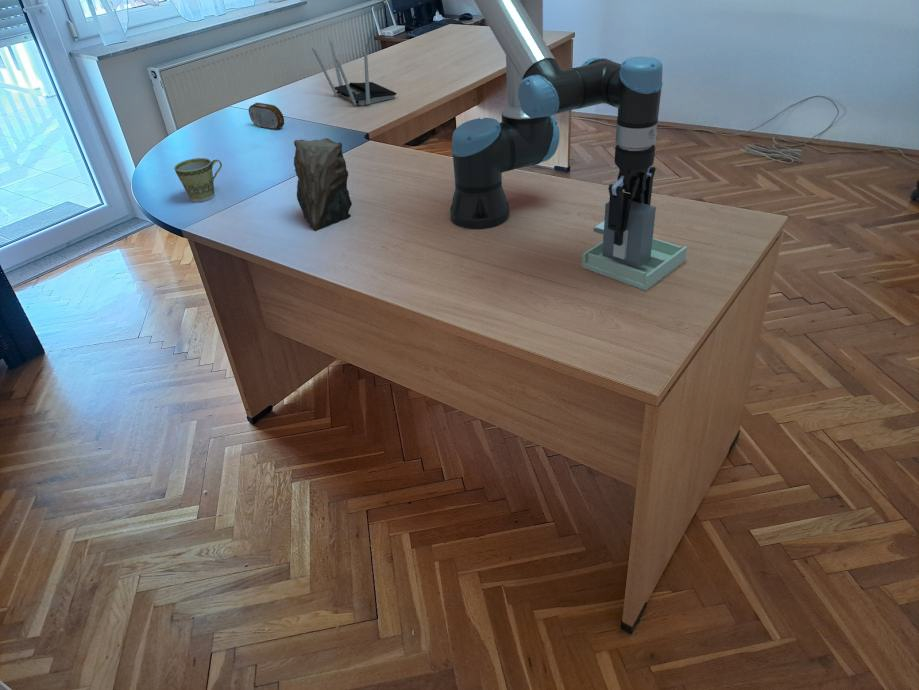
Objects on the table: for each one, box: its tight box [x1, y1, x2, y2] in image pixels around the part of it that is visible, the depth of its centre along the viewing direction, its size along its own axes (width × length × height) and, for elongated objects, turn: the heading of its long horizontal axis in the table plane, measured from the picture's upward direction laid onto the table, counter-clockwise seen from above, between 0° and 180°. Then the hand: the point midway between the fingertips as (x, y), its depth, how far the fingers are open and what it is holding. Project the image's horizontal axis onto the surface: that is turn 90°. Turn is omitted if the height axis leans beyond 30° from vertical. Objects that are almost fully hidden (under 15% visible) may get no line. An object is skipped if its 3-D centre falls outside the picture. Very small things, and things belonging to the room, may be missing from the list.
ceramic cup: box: [173, 157, 223, 203], centre depth 195 cm, size 13×10×10 cm
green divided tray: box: [581, 237, 688, 291], centre depth 149 cm, size 16×16×3 cm
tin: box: [248, 102, 285, 131], centre depth 244 cm, size 15×3×8 cm, turn 58°
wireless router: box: [311, 38, 397, 107], centre depth 263 cm, size 34×23×20 cm
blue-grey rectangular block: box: [602, 201, 657, 268], centre depth 143 cm, size 9×4×12 cm, turn 46°
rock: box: [293, 137, 353, 232], centre depth 175 cm, size 13×13×20 cm
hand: (626, 252), depth 145 cm, fingers closed on blue-grey rectangular block, 4 cm apart
